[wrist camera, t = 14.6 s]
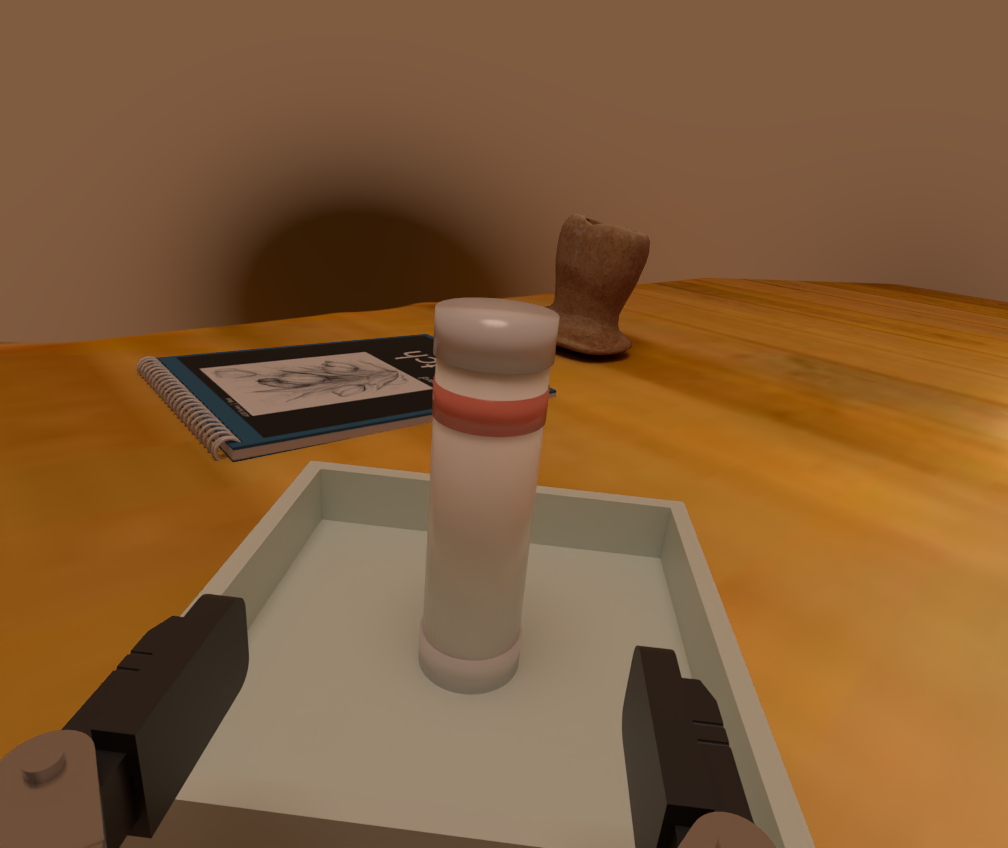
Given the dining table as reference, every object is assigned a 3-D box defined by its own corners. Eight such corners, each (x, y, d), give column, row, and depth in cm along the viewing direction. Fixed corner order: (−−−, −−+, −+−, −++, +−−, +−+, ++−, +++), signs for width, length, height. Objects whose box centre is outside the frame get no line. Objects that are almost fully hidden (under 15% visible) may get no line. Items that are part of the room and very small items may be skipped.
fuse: (398, 648, 27) (411, 301, 21) (477, 612, 29) (504, 294, 24) (459, 711, 24) (489, 330, 19) (539, 665, 26) (585, 319, 21)
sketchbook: (555, 404, 61) (557, 382, 60) (218, 474, 42) (216, 444, 42) (426, 343, 76) (427, 326, 75) (135, 376, 57) (132, 353, 57)
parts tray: (66, 888, 18) (41, 781, 17) (312, 526, 36) (310, 460, 35) (789, 987, 17) (829, 885, 16) (669, 567, 36) (683, 502, 34)
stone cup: (653, 356, 78) (677, 223, 72) (583, 368, 70) (603, 221, 65) (564, 326, 88) (578, 209, 83) (494, 334, 81) (505, 205, 75)
